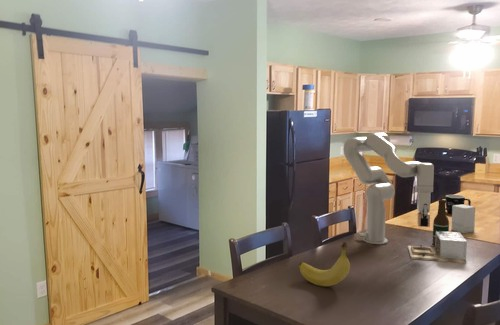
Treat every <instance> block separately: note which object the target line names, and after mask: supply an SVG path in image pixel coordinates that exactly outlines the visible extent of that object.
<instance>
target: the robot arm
mask: <svg viewBox="0 0 500 325" xmlns="http://www.w3.org/2000/svg"><path fill="white" fill-rule="evenodd" d="M371 151H373V152H374V153H376V154H377V155H378V156H380V157H381V158H382V159H383V160H384V162H385V164H386V166H387V168H388V169H389V170H391V172H393V173H395V175H397V176H398V177H400V178H411V177H416V186H415V188H416V190H415V191H416V192H418V193H417V202H416V203H417V204H416V205H417V206H416V209H417V211H418V212H421V226H425V228H428V227H427V226H428V213H430V211H431V193H433V192H434V178H435V176H434V175H435V172H434V171H435V165H434V164H433V163H431V162H420V161H418V160H417V161H416V160H410V161H403V160H402V159H400V158H399V157H398V156H397V154H396V152H397V147H396V146H395V144H392V143H391V139H390V137H389V135H388V134H387V133H385V132H372V133H369V134H368V135H367V136H354V137H352V136H351V137H350V138H348V139H346V140H345V141H344V144H343V154H344V157H345V158H346V160H347V162H348V163H349V164H350V166H351V168H352V169H353V171H354V172H355V174H356V176H357V178H358V180H359V181H360V183H361V184H362V185H369V186H368V187H367V188H366V190H365V199H366V230H365V232H357V235H358V237H360V238H363V242H365V243H367V244H371V245H385V244H387V243H388V242H389V241H388V239H387V238H386V236H385V235H386V206H385V203H384V201H386V200H391V199H393V197H394V196H395V193H396V191H395V187H394V185H393V182H392V181H391V179H390V178H389V177H388V175H387V173H386V172H385V171H384V169H383V168H382V167H379V166H377V165H374V166H371V165H370V163H369V162H368V161H367V160H366V158H365V157H364V156H363V155H362V154H361V153H362V152H364V153H365V152H371ZM423 213H424V214H423Z"/></svg>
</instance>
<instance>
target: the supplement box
mask: <svg viewBox="0 0 500 325" xmlns="http://www.w3.org/2000/svg"><path fill="white" fill-rule="evenodd" d="M475 220H476V207H475V206H472V205H471V206H468V204H464V205H463V204H461V205H453V206H452V214H451V230H452V231H453V232H460V233H461V234H466V233H468V232H469V233H474V232H475V226H476V225H475V224H476V222H475Z"/></svg>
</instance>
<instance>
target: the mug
mask: <svg viewBox="0 0 500 325" xmlns="http://www.w3.org/2000/svg"><path fill="white" fill-rule="evenodd" d="M441 199H442V200H446V203H445V211H446V212H447V213H448V212H450V213H449V214H451V213H452V206H453V205H461V204H463V205H465V201H467V205H468V206H472V205H471V203H472V202H471V199H469V198H465V196H463V195H461V194H446V195H445V197H440V198H439V200H441Z"/></svg>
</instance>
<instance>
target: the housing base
mask: <svg viewBox="0 0 500 325" xmlns="http://www.w3.org/2000/svg"><path fill="white" fill-rule="evenodd" d="M407 249H408V253H409V257H410V259H411V260H421V261H424V260H425V261H437V262H447V263H458V264H459V263H461V264H467V259H466V260H460V259H448V258H440V249H438V248H435V247H434V246H433V247H432V246H422V244H420V245H407Z"/></svg>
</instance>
